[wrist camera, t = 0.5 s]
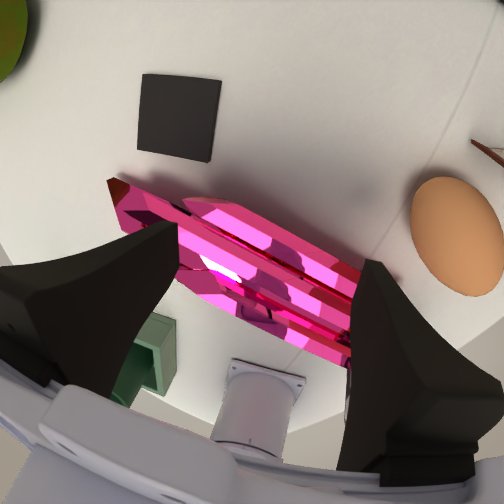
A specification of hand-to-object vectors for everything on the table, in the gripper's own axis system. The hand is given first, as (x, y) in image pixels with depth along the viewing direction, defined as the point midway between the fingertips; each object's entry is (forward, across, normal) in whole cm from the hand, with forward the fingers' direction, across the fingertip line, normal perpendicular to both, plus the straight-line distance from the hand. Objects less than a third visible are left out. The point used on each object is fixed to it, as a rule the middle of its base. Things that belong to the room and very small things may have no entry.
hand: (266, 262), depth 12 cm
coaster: (+10, +8, -3) cm, 13 cm away
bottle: (+9, +14, +20) cm, 26 cm away
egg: (+8, -8, -2) cm, 11 cm away
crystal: (+10, +2, +6) cm, 12 cm away
